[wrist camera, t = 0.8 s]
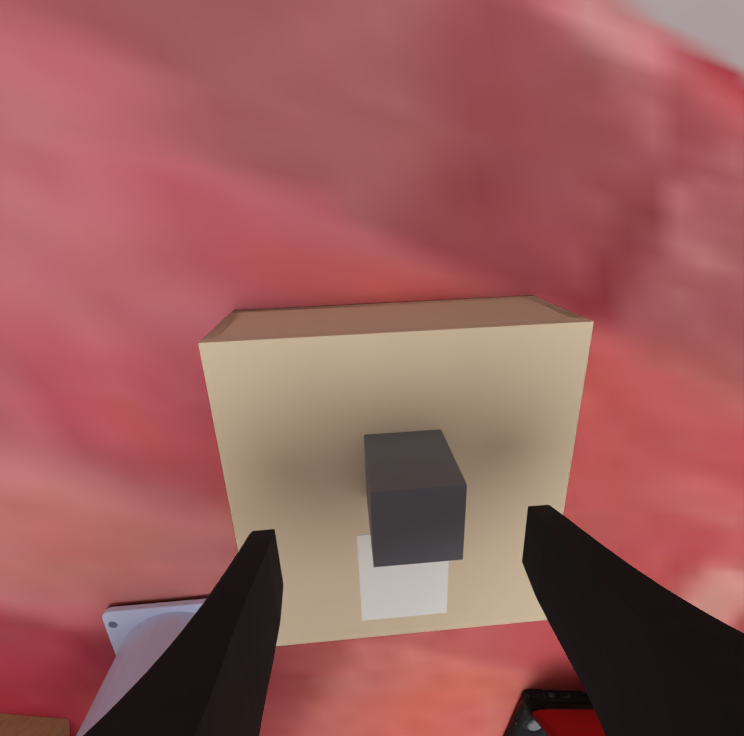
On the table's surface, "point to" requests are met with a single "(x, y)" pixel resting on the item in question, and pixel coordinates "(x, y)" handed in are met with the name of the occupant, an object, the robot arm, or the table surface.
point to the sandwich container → (33, 726)
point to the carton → (387, 316)
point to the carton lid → (398, 466)
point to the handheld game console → (555, 715)
